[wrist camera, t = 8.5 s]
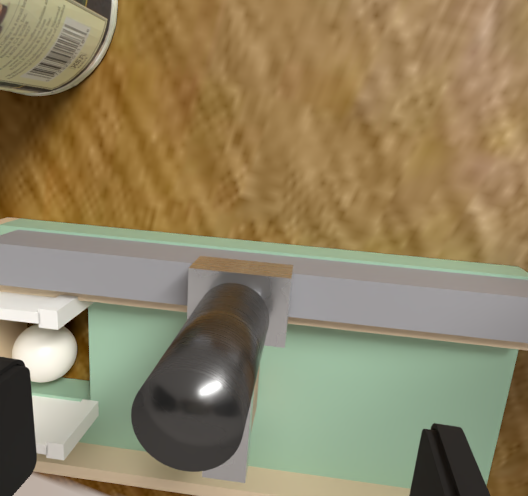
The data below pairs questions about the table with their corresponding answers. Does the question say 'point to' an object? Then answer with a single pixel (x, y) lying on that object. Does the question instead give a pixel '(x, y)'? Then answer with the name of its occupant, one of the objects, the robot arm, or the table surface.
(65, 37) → the coffee can
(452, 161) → the table surface
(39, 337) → the ball
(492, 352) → the pitch
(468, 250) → the table surface
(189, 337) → the black handled slider
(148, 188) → the table surface
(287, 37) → the table surface
